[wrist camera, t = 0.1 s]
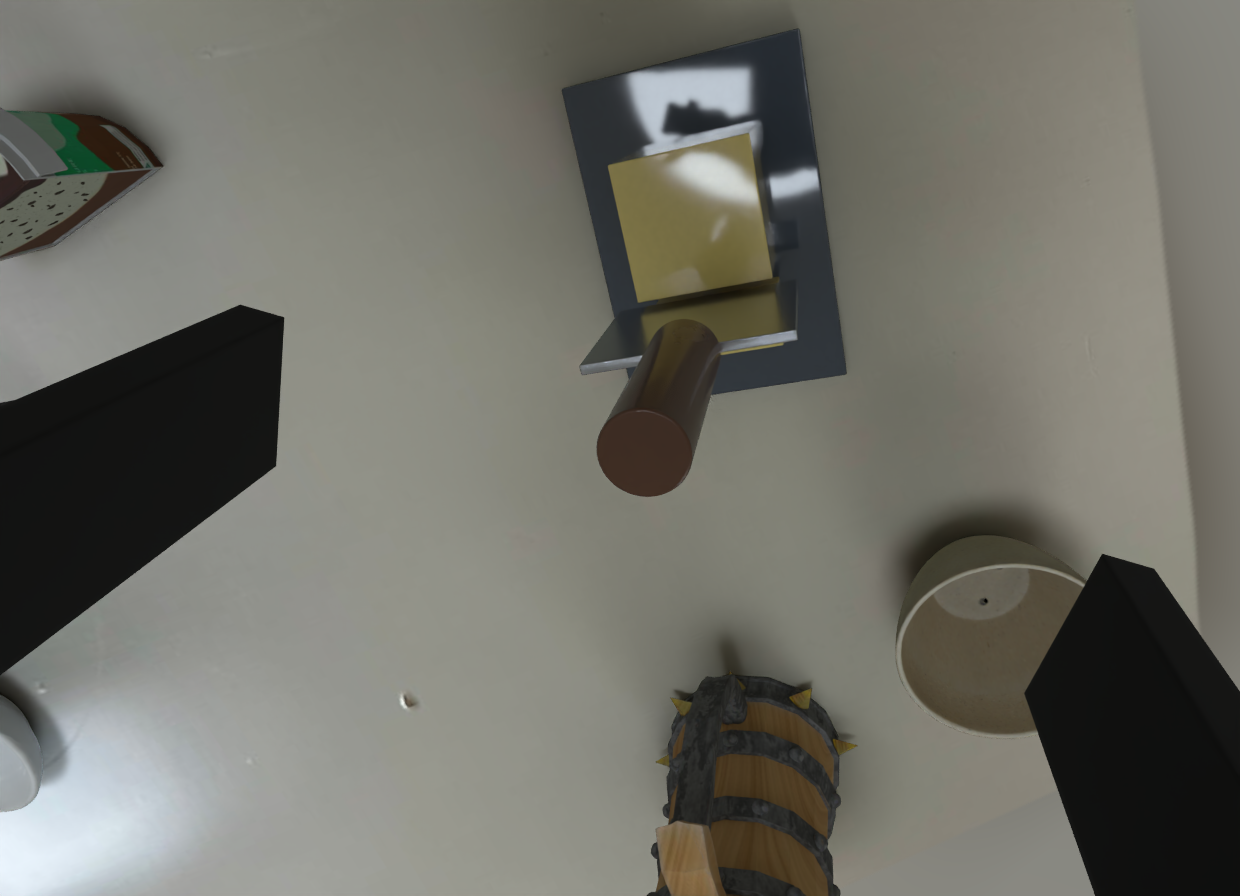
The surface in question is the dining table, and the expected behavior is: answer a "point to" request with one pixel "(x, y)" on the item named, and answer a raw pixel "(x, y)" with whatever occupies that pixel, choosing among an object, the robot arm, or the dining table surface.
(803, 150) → the butter dish
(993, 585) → the flower pot
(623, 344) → the knife
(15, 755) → the spoon rest
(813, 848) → the mug
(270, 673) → the dining table surface
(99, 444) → the robot arm
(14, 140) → the food container
